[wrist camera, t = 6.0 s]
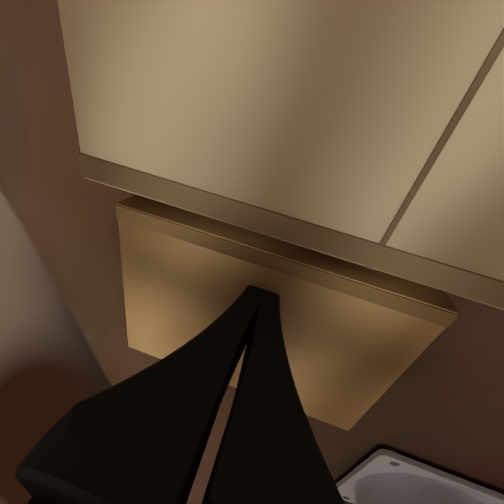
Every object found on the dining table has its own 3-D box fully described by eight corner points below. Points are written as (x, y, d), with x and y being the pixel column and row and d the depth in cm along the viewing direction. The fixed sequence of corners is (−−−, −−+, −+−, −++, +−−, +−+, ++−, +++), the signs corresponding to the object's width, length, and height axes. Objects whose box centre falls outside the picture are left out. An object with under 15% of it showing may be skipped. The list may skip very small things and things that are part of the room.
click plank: (444, 291, 9) (459, 314, 8) (346, 408, 14) (348, 432, 13) (136, 194, 11) (115, 203, 10) (141, 331, 15) (127, 347, 14)
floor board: (859, -29, 4) (1092, -89, 3) (516, 293, 9) (551, 327, 7) (85, -154, 6) (15, -231, 5) (113, 169, 10) (81, 178, 9)
